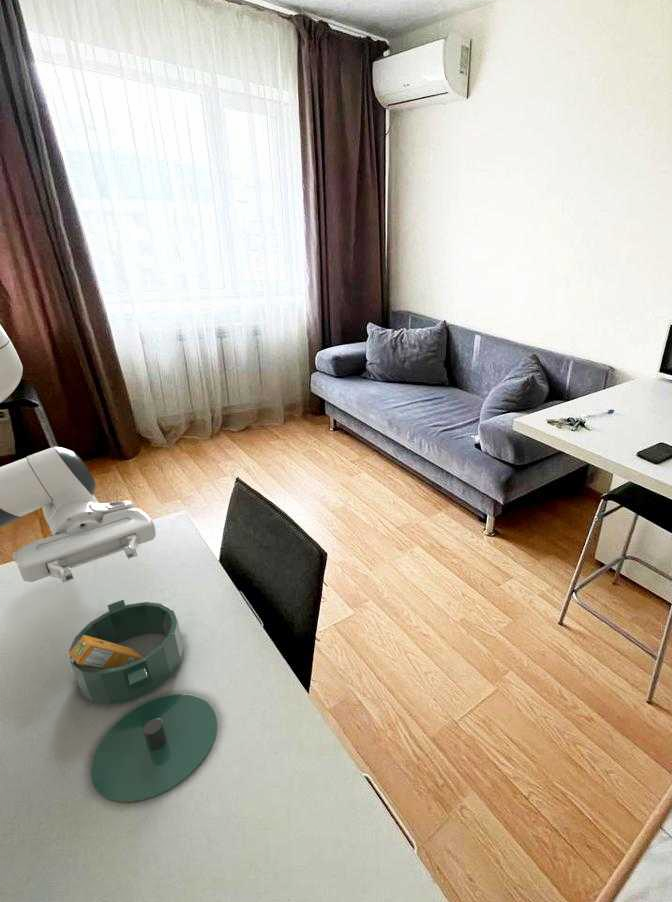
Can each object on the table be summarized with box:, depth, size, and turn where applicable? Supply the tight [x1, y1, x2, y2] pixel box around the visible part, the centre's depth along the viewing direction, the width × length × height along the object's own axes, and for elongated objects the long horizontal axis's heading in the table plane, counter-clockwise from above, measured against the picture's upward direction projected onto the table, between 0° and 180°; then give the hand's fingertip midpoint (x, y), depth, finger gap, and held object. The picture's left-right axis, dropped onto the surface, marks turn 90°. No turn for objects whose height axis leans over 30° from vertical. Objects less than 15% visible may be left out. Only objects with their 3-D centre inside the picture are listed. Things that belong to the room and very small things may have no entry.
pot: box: [68, 599, 185, 705], centre depth 81 cm, size 15×20×8 cm
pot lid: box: [90, 693, 218, 803], centre depth 70 cm, size 16×16×5 cm
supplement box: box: [68, 635, 144, 670], centre depth 78 cm, size 3×3×10 cm
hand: (100, 565), depth 84 cm, fingers open, 8 cm apart
